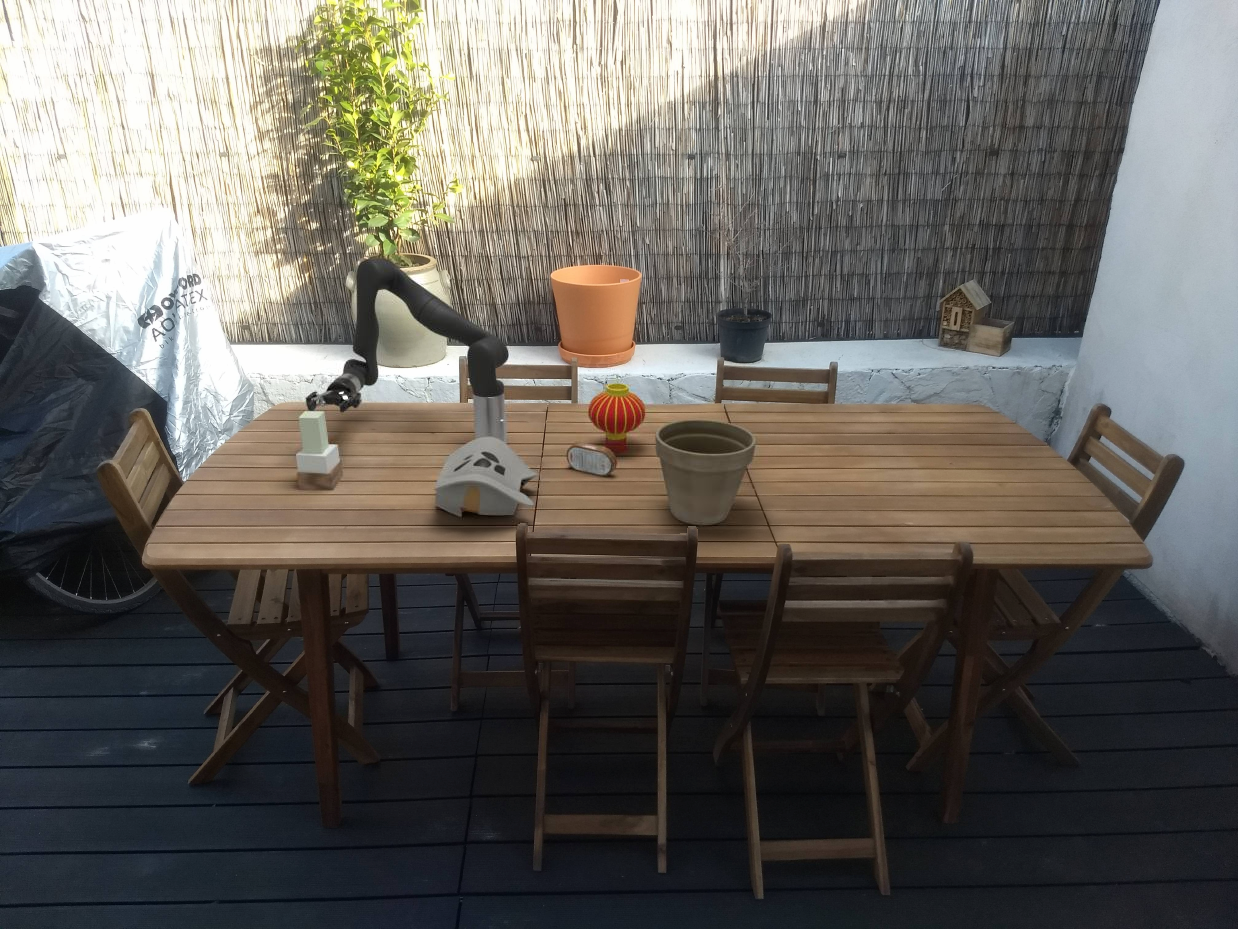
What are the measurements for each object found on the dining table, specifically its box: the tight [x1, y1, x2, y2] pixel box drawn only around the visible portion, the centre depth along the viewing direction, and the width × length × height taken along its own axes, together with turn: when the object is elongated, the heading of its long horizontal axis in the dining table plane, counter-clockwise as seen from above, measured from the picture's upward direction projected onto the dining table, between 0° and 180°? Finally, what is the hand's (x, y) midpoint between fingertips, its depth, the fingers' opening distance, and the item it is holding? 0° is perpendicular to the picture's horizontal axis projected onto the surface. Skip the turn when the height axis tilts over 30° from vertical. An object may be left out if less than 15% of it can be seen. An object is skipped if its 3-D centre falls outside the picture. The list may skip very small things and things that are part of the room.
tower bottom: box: [296, 459, 344, 491], centre depth 216 cm, size 9×9×5 cm
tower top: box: [295, 443, 341, 474], centre depth 214 cm, size 8×8×5 cm
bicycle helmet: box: [433, 437, 540, 518], centre depth 205 cm, size 28×26×16 cm
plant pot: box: [654, 418, 757, 526], centre depth 202 cm, size 25×25×22 cm
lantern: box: [587, 353, 646, 454], centre depth 237 cm, size 17×17×30 cm
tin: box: [565, 441, 618, 477], centre depth 226 cm, size 15×3×8 cm, turn 65°
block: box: [298, 410, 330, 454], centre depth 211 cm, size 5×5×10 cm
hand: (325, 408), depth 219 cm, fingers open, 8 cm apart
